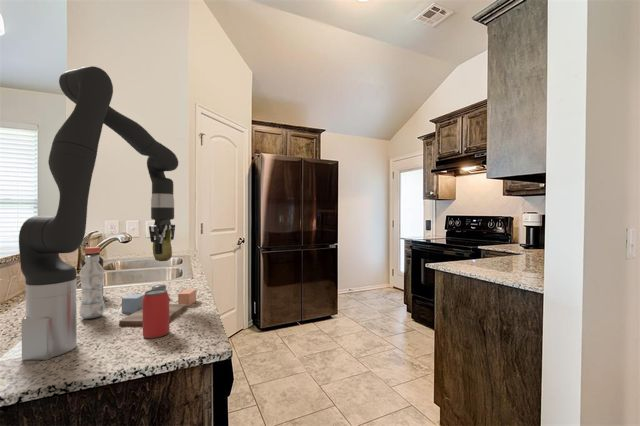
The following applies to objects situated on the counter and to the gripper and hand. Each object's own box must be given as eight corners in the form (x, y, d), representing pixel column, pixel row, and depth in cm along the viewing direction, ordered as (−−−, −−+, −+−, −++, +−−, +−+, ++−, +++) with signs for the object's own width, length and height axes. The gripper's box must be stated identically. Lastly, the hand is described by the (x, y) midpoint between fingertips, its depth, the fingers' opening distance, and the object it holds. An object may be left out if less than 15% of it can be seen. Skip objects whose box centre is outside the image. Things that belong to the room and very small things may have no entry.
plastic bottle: (91, 321, 92) (91, 257, 92) (73, 320, 93) (73, 256, 93) (110, 314, 98) (109, 254, 98) (93, 313, 100) (93, 254, 100)
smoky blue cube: (136, 313, 100) (136, 298, 100) (121, 313, 100) (121, 298, 100) (145, 308, 105) (145, 294, 105) (131, 308, 105) (131, 294, 105)
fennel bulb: (150, 261, 107) (150, 228, 107) (161, 259, 112) (161, 227, 112) (164, 262, 105) (164, 228, 106) (174, 260, 110) (174, 227, 110)
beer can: (150, 341, 78) (150, 296, 78) (137, 335, 82) (137, 292, 82) (174, 332, 84) (174, 290, 84) (161, 327, 87) (161, 287, 87)
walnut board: (162, 325, 89) (162, 320, 89) (119, 325, 89) (119, 320, 89) (186, 308, 105) (186, 304, 105) (150, 308, 105) (150, 304, 105)
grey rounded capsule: (161, 300, 114) (161, 287, 114) (148, 300, 114) (148, 287, 114) (168, 296, 119) (168, 284, 119) (156, 296, 119) (156, 284, 119)
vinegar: (106, 296, 119) (106, 247, 119) (86, 301, 113) (85, 249, 113) (98, 294, 123) (98, 246, 123) (78, 298, 117) (78, 247, 117)
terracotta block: (189, 306, 108) (189, 293, 108) (178, 306, 108) (178, 293, 108) (196, 301, 114) (196, 289, 114) (185, 301, 114) (185, 289, 114)
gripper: (162, 206, 101) (162, 256, 101) (182, 207, 116) (182, 250, 116) (140, 206, 101) (140, 256, 101) (163, 207, 116) (163, 250, 116)
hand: (162, 252), depth 109 cm, fingers closed on fennel bulb, 4 cm apart
